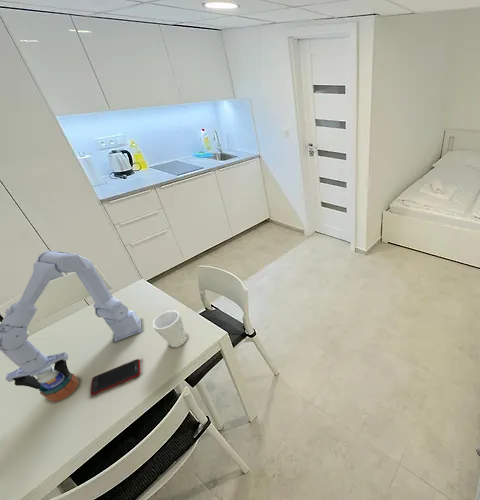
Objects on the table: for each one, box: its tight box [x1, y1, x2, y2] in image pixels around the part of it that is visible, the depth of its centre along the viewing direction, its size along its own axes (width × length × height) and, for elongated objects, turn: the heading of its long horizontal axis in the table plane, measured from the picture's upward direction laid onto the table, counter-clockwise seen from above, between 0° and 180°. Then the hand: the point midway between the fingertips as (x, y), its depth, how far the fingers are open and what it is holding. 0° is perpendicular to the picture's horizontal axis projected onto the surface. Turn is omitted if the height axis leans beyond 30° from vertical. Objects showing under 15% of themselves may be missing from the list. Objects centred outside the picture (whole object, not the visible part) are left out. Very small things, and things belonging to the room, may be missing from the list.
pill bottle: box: [35, 365, 67, 391], centre depth 97 cm, size 5×5×10 cm
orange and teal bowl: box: [38, 372, 80, 403], centre depth 100 cm, size 9×9×6 cm
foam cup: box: [151, 309, 187, 348], centre depth 114 cm, size 10×9×13 cm
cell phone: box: [90, 358, 141, 396], centre depth 104 cm, size 8×15×1 cm, turn 122°
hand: (53, 380), depth 98 cm, fingers open, 7 cm apart
